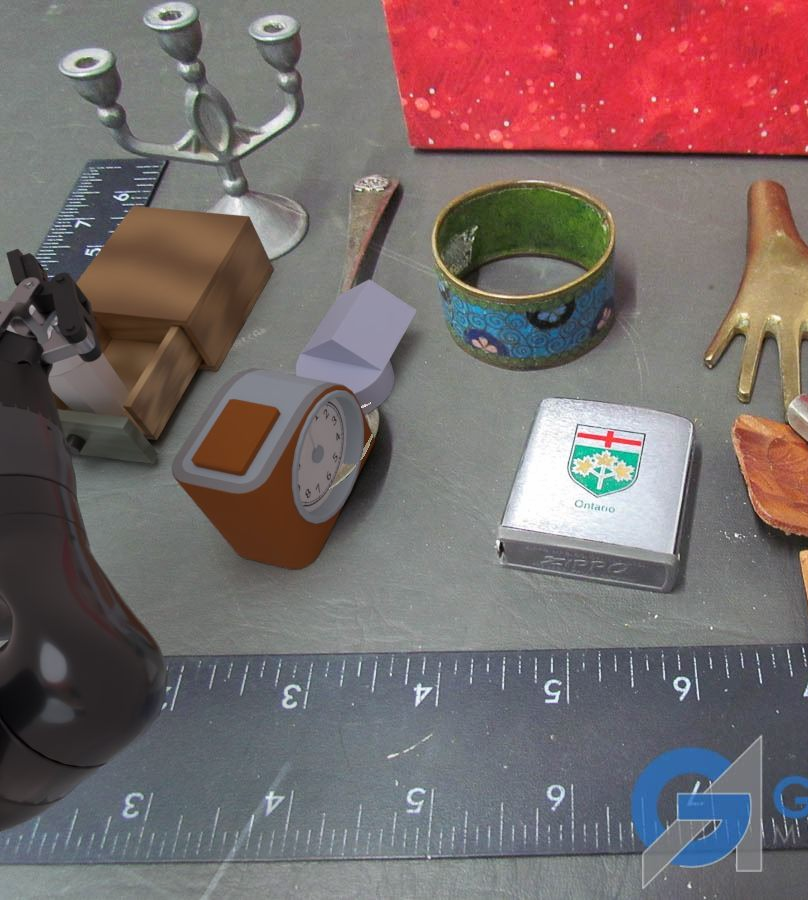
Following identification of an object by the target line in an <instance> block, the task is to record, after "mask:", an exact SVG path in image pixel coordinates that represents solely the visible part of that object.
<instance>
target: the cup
mask: <svg viewBox="0 0 808 900" xmlns="http://www.w3.org/2000/svg"><path fill="white" fill-rule="evenodd" d="M34 311H35V308H34V306H33V305H31V306H30V308H29V312H30V314H31V315H32V314H33V312H34ZM54 320H57V316H56V317H55V319H54ZM6 330H9V331H11V332H14V333H16V332H15V330H14V329H13V328H12V327H11V326H10V325H9V326H8V328H7V329H6ZM52 330H53V327H52V326H51V325H50V327H49V328H48V330H47V333H48V339H49V338H50V336H51V331H52ZM48 381H49V384H50V387H51V390H52V391H53V392H54V393H55V394H56V395H57V396H58V397H59V398H60V399H61V400H62V401H63V402H64V403H65V404H66V405H67V406H68V407H69V408H70V409H71V410H72V411H77V412H85V413H93V414H102V415H110V416H118V417H119V416H120V415H122V414H124V413H125V412H126V409H125V408H124V407H123V404H124V402H125V401H126V399H127V398H128V396H129V394H130V392H129V391H128V390H127V388H126V387H125V385H124V384H123V382H122V381H121V379H120V378H119V376H118V375H117V374H116V372H115V371H114V369H113V368H112V366H111V365H110V363H109V362H108V360H107V359H106V357H105V356H104V354H103V353H102V354H101V356H100V357H99V358H98V359H97V360H95V361H92V362H85V361H83V360H82V359H81V358H80V356H79V355H75V356H72V357H69V358H66V359H64V360H61V361H58V362H55V363H53V367H52V370H51V372H50V374H49V378H48Z"/></svg>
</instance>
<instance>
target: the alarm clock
mask: <svg viewBox="0 0 808 900" xmlns="http://www.w3.org/2000/svg"><path fill="white" fill-rule="evenodd" d="M371 434H373V432H372V429H371V426H370V425H369V423H368V420H367V418H366V414H364V413H363V411H362V408H361V406H360V404H359V401H358V400H357V398H356V396H355V395H354V393H353V391H351V390H350V389H348V388H347V387H346V386H344V385H342V384H337V383H332V382H326V381H321V380H316V379H311V378H305V377H300V376H296V374H295V375H294V374H291V373H290V374H289V373H284V372H278V371H274V370H269V369H262V368H254V367H253V368H248V369H245V370H242V371H238V372H237V373H236V374H235V375H233V376H232V377H231V378H229V379H228V380H227V381H225V383H224V384H223V385H222V387H221V388H220V389H218V391H217V392H216V394H215V395H214V397H213V398H212V400H211V401H210V403H209V404H208V406H207V407H206V409H205V410H204V412H203V413H202V415H201V416H200V418H199V420H198V421H197V423H196V424H195V426H194V427H193V429H192V431H191V432H190V433H189V434H188V437H187V438H186V439H185V441H184V442H183V443H182V446H181V447H180V449H179V450H178V452H177V453H176V455H175V457H174V458H173V460H172V462H171V463H172V464H171V473H172V476H173V478H174V479H175V481H176V482H177V483H178V484H179V486H180V487H181V488H182V489H183V490H184V492H185V493H186V494H187V496H189V497H190V499H191V500H192V502H194V503H195V505H196V506H197V508H198V509H199V510H201V512H202V513H203V514H204V516H205V517H206V518H207V519H208V520H209V522H210V523H211V525H213V526H214V528H215V529H216V530H217V531H218V533H219V534H220V535H221V536H222V537H223V538H224V539H225V541H226V542H227V543H228V545H229V546H230V547H231V548H232V549H233V550H234V551H235V553H236V555H238V556H240V558H243V559H246V560H249V561H254V562H257V563H263V564H265V565H266V564H267V565H271V566H276V567H280V568H284V569H288V570H298V569H303V568H305V567H308V566H309V565H310V564H312V563H313V562H314V561H316V560H317V558H318V557H319V555H320V553H321V552H322V549H323V547H324V546H325V544H326V542H327V539H328V538H329V535H330V534H331V531H332V529H333V528H334V526H335V523H336V522H337V519H338V517H339V515H340V513H341V512H342V510H343V507H344V505H345V504H346V501H347V500H348V497H350V494H351V493H352V491H353V487H354V486H355V483H356V481H357V479H358V478H359V475H360V473H361V471H362V469H363V467H364V465H365V463H366V462H367V459H368V458H369V455H370V453H371V451H372V449H373V447H374V445H375V443H376V439H375V437H374V435H373V438H372V440H371V442H370V446H369V448H368V450H367V452H366V454H365V456H364V457H363V459H362V460H360V459H361V457H362V453H363V448H364V447H365V445H366V443H367V442H368V440H369V438H370V436H371ZM343 463H344V464H346V463H347V464H349V465H350V464H353V463H354V465H355V464H356V467H355V468H354V470H353V471H352V472H351V473H350V475H349V476H348V477H347V478H345V479H344V480H343V481H342V482H341V483H339V484H338V485H336V486H335V487H333V488H330V486H331V485H332V483H333V481H334V479H335V478H336V476H337V473H338V472H339V470H340V468H341V466H342V464H343ZM357 463H358V464H357ZM347 464H346V465H347ZM329 488H330V489H329Z"/></svg>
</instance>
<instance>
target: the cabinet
mask: <svg viewBox="0 0 808 900" xmlns="http://www.w3.org/2000/svg"><path fill="white" fill-rule="evenodd" d="M255 227H256V226H254V223H253V220H252V219H251V217H250V216H249V215H241V214H240V215H239V214H228V213H218V212H206V211H197V210H196V211H194V210H185V209H183V210H182V209H174V208H162V207H161V208H160V207H150V206H139V205H133V206H131V208H130V210H129V211H128V212H127V213H126V214H125V216H124V217H123V219H122V220H121V221H120V223H119V224H118V226H117V227H116V228H115V229H114V231H113V233H112V234H111V235H110V236H109V238H108V239H107V241H106V242H105V243H104V244H103V246H102V247H101V248H100V250H99V252H98V253H97V254H96V255H95V257H94V258H93V259H92V261H91V262H90V263H89V265H88V267H86V269H85V270H84V272H83V273H82V274H81V276H80V277H79V278H78V280H77V281H76V282H75V283H76V284H77V285H78V287H79V288H80V289H81V291H82V292H83V293H84V295H85V296H86V298H87V299H88V300H89V302H90V303H91V307H92V312H93V316H96V317H106V318H115V319H125V320H134V321H143V322H153V323H162V324H171V325H181V326H183V328H184V329H185V331H186V333H187V334H188V336H189V337H190V339H191V340H192V342H193V344H194V345H195V347H196V348H197V350H198V351H199V353H200V354H201V356H202V358H203V360H202V362H201V363H200V365H199V367H198V369H197V370H200V371H201V370H202V371H212V372H218V371H219V370H220V367H221V366H222V365H223V362H224V360H225V359H226V357H227V356H228V353H229V351H230V350H231V348H232V346H233V344H234V342H235V340H236V338H237V337H238V335H239V333H240V331H241V330H242V328H243V326H244V324H245V322H246V321H247V318H248V317H249V315H250V313H251V312H252V309H254V306H255V304H256V302H257V300H258V299H259V298H260V295H261V294H262V291H263V290H264V288H265V286H266V285H267V282H268V281H269V279H270V277H271V275H272V274H273V271H274V270H275V268H274V266H273V264H272V262H271V260H270V258H269V256H268V253H267V251H266V248H265V247H264V245H263V242H262V241H261V238H260V236H259V233H258V232H257V229H256V228H255Z"/></svg>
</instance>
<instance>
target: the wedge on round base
mask: <svg viewBox="0 0 808 900" xmlns="http://www.w3.org/2000/svg"><path fill="white" fill-rule="evenodd" d="M417 312H418V310H416V309H415V308H414V307H412V306H411V305H410V304H409V303H406V302H405V301H404V300H402V299H400V298H399V297H397V296H396V295H394V294H392V293H391V292H390V291H388V290H386V289H385V288H384V287H382V286H380V285H379V284H377V283H376V282H374V281H373V280H372V279H367V280H365V281H363V282H361V283H359V284H358V285H356V286H354V287H352V288H350V289H348V290H346V291H344V292H342V293H341V294H338V296H337V298H336V299H335V300H334V302H333V303H332V305H331V307H330V308H329V309H328V311H327V313H326V314H325V316H324V317H323V318H322V320H321V322H320V324H319V325H318V327H317V328H316V330H315V331H314V333H313V334H312V335H311V338H310V339H309V340H308V343H307V344H305V347H304V348H303V350H302V351H301V353H300V354H299V357H298V358H297V361H296V364H295V376H300V377H305V378H311V379H316V380H321V381H326V382H332V383H337V384H342V385H344V386H346V387H347V388H348V389H350V390H351V391H353V393H354V395H355V396H356V398H357V400H358V401H359V404H360V406H362V405H364V404H368V403H370V402H371V404H370V405H368V406H366V407H364V408H362V411H363V413H364V415H366V414H368V413H371V412H372V411H374V410H375V409H377V408H378V407H380V406H381V405H382V404H383V403H384V402H385V401H386V400H387V399H388V398H389V396H390V394H391V393H392V391H393V390H394V386H395V381H396V380H395V379H396V378H395V371H394V368H393V365H392V362H391V360H390V359H391V358H392V356H393V354H394V352H395V350H396V349H397V348H398V345H399V344H400V342H401V340H402V338H403V336H404V335H405V333H406V331H407V330H408V328H409V326H410V324H411V322H412V321H413V319H414V317H415V315H416V313H417Z"/></svg>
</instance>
